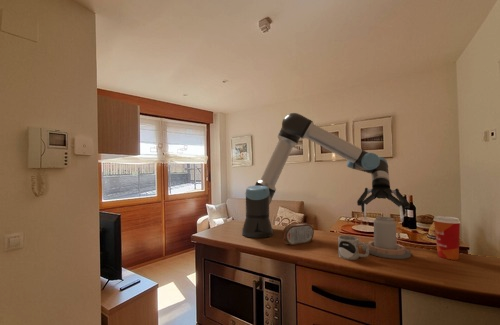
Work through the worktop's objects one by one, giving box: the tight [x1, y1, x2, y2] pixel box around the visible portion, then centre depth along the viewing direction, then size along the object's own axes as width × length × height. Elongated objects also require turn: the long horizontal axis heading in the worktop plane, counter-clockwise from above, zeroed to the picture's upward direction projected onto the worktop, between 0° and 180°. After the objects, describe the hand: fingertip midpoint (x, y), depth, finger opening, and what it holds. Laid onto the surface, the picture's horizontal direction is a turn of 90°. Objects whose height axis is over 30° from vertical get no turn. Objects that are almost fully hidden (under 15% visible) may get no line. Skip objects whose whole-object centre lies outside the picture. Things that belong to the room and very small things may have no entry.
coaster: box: [361, 240, 412, 260], centre depth 89 cm, size 16×16×2 cm
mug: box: [337, 235, 370, 261], centre depth 83 cm, size 10×7×7 cm, turn 56°
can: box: [373, 216, 398, 250], centre depth 89 cm, size 8×8×12 cm
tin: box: [282, 222, 315, 246], centre depth 99 cm, size 15×3×8 cm, turn 115°
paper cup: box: [432, 215, 462, 261], centre depth 83 cm, size 8×8×14 cm
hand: (383, 219), depth 98 cm, fingers open, 13 cm apart
